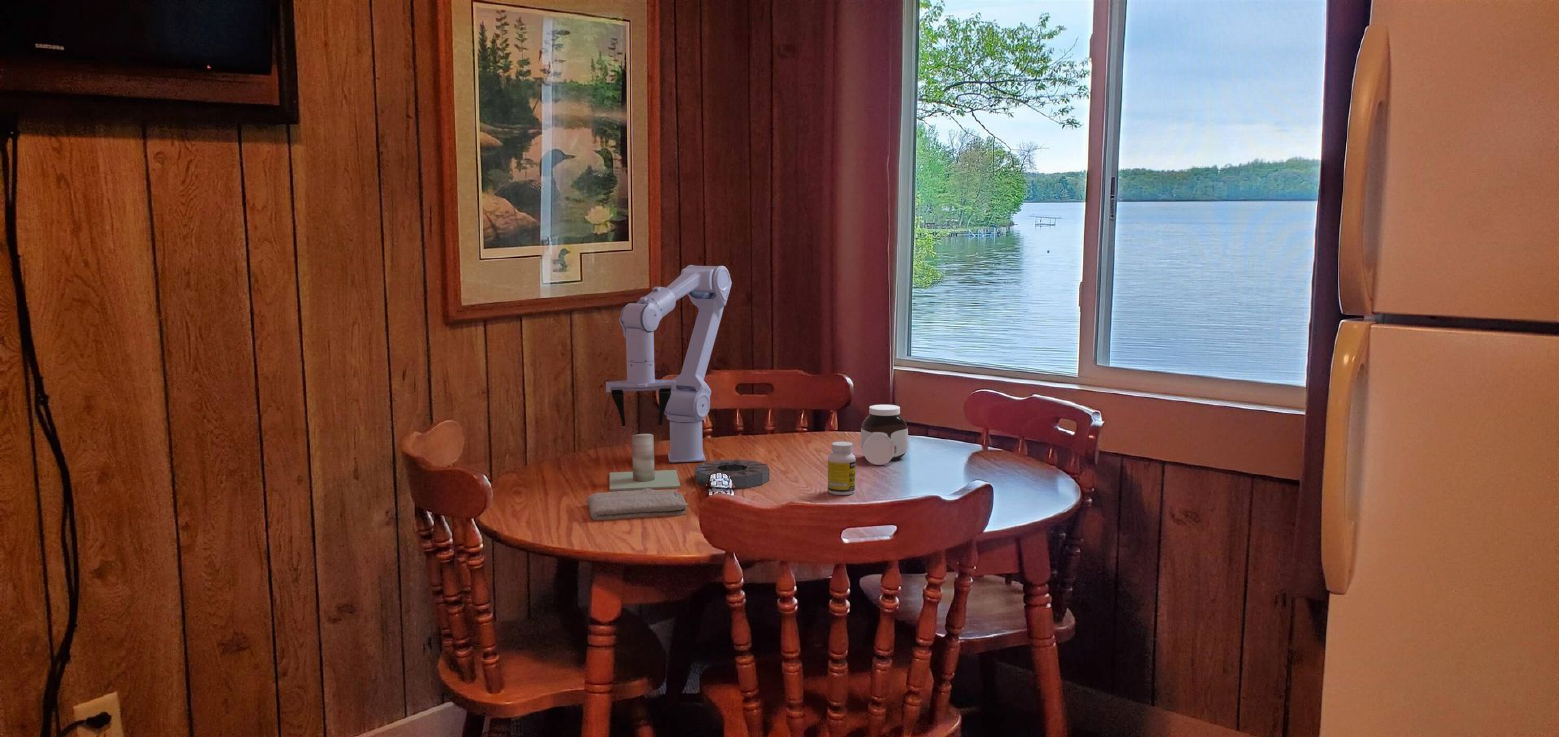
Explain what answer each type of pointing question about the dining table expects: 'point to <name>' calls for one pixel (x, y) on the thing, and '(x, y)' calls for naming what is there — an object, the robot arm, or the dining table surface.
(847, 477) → the supplement bottle
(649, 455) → the peg
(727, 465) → the iron collar
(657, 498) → the washcloth
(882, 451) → the spread jar
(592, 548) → the dining table surface
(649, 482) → the pad
